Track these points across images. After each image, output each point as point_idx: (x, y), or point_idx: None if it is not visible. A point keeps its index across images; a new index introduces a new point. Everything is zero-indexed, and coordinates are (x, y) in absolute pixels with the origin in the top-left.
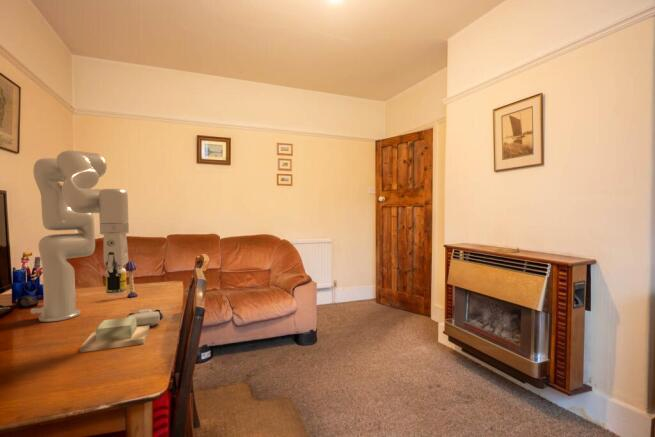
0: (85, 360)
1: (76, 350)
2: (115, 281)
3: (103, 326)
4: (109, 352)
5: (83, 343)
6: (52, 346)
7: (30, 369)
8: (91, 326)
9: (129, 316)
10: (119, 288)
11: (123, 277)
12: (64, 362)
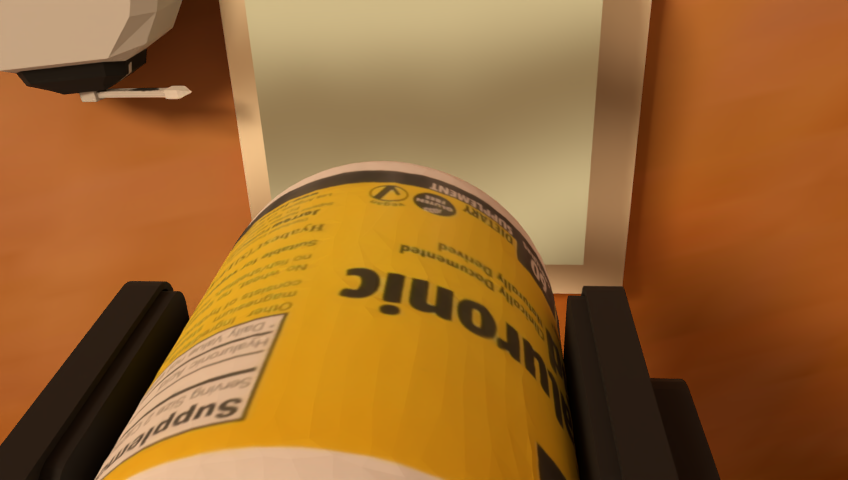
0: (820, 197)
1: (555, 304)
2: (711, 471)
3: (519, 220)
4: (738, 62)
5: None
6: None
7: (782, 449)
8: (3, 340)
9: (43, 56)
10: (622, 293)
11: (473, 384)
12: (773, 314)
